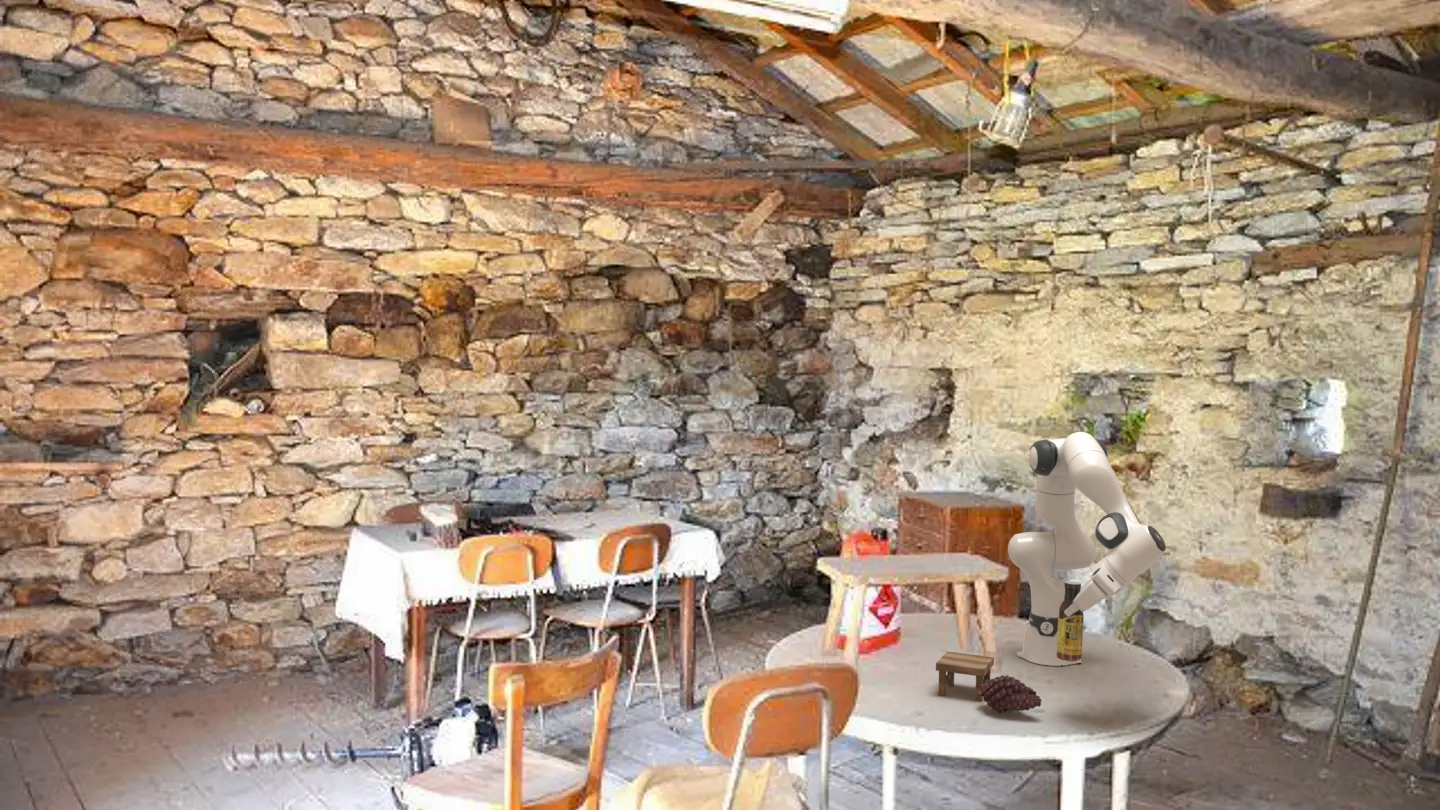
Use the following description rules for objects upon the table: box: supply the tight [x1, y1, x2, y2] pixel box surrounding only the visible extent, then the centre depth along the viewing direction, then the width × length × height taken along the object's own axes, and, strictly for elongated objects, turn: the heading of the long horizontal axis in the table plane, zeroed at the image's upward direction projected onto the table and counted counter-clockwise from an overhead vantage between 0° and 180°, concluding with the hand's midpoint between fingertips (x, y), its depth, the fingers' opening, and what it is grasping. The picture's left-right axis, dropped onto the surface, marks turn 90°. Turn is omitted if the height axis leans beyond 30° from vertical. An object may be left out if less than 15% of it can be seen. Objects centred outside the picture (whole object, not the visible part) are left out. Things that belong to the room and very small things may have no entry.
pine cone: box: [977, 675, 1042, 714], centre depth 284 cm, size 18×10×10 cm, turn 49°
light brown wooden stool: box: [935, 651, 995, 703], centre depth 301 cm, size 13×13×9 cm
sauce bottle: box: [1056, 580, 1085, 661], centre depth 283 cm, size 7×6×20 cm
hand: (1068, 610), depth 283 cm, fingers closed on sauce bottle, 6 cm apart
